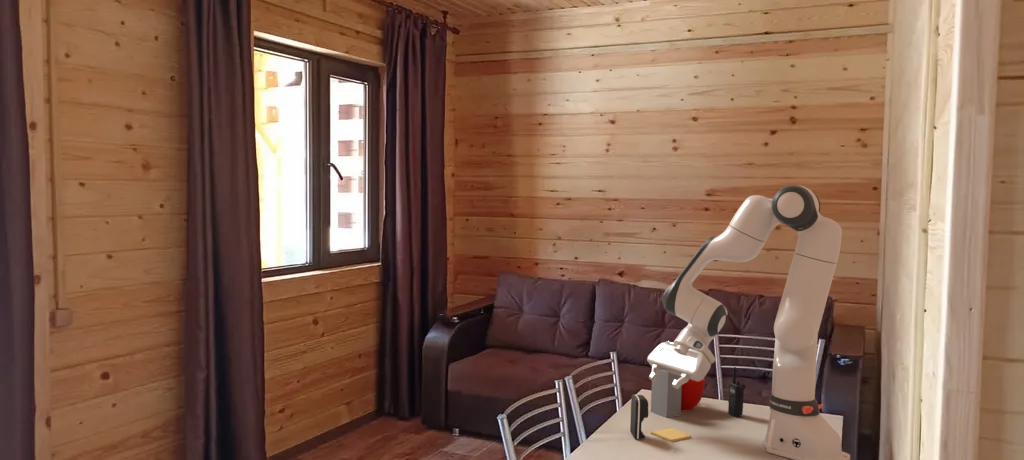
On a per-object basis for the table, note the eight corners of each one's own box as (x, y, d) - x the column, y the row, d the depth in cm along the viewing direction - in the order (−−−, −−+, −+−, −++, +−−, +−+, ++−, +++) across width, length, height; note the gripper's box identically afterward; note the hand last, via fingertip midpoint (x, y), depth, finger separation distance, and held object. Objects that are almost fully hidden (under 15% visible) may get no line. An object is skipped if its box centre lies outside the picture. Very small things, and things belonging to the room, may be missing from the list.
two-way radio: (725, 413, 239) (727, 366, 239) (738, 412, 241) (740, 365, 240) (735, 418, 234) (737, 370, 233) (748, 417, 235) (750, 369, 235)
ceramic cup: (707, 402, 251) (709, 372, 251) (700, 415, 235) (701, 384, 235) (668, 397, 256) (669, 368, 255) (658, 410, 240) (659, 379, 240)
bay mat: (691, 437, 214) (691, 435, 214) (670, 442, 209) (670, 439, 209) (670, 429, 221) (671, 427, 220) (650, 433, 216) (650, 431, 216)
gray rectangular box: (680, 414, 236) (682, 366, 235) (666, 417, 233) (668, 368, 232) (663, 408, 242) (665, 361, 241) (649, 411, 239) (651, 363, 238)
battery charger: (648, 440, 210) (649, 399, 210) (634, 440, 210) (636, 399, 210) (642, 432, 217) (644, 393, 217) (629, 432, 217) (631, 392, 217)
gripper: (658, 333, 230) (633, 368, 225) (710, 346, 213) (683, 384, 208) (668, 346, 233) (643, 381, 228) (720, 361, 216) (693, 398, 211)
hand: (662, 383), depth 218 cm, fingers open, 8 cm apart
